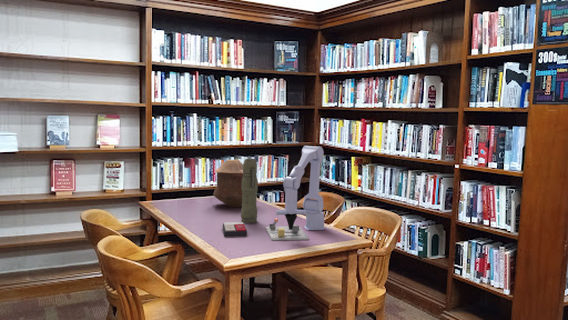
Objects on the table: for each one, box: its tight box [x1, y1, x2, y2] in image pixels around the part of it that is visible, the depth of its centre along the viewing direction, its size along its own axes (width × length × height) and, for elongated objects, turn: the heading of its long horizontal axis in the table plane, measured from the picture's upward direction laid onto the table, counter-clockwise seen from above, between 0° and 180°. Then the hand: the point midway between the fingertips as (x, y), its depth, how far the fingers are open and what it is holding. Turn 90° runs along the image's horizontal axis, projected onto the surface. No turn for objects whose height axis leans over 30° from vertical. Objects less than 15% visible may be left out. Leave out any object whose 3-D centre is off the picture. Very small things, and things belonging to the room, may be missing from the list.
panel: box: [265, 223, 309, 241], centre depth 231 cm, size 18×22×3 cm
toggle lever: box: [272, 218, 279, 226], centre depth 237 cm, size 2×3×5 cm, turn 10°
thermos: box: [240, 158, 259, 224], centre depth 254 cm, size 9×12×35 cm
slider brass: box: [277, 228, 285, 236], centre depth 222 cm, size 3×3×3 cm
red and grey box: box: [222, 221, 248, 238], centre depth 232 cm, size 11×4×15 cm
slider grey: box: [291, 224, 299, 232], centre depth 231 cm, size 3×3×3 cm
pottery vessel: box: [212, 159, 243, 208], centre depth 296 cm, size 26×26×30 cm
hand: (290, 229), depth 223 cm, fingers closed
